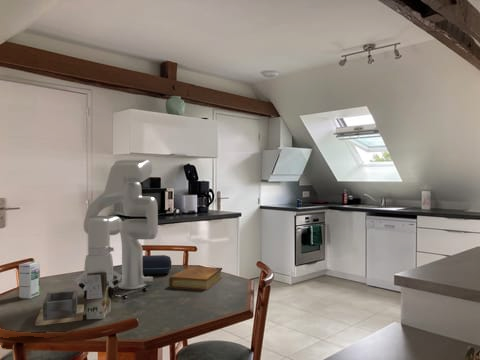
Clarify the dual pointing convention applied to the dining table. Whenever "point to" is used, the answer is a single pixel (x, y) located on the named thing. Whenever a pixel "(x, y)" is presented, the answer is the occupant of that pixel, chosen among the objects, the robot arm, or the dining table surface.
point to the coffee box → (98, 296)
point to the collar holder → (60, 308)
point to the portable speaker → (156, 264)
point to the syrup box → (29, 280)
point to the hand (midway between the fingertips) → (99, 298)
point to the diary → (195, 278)
